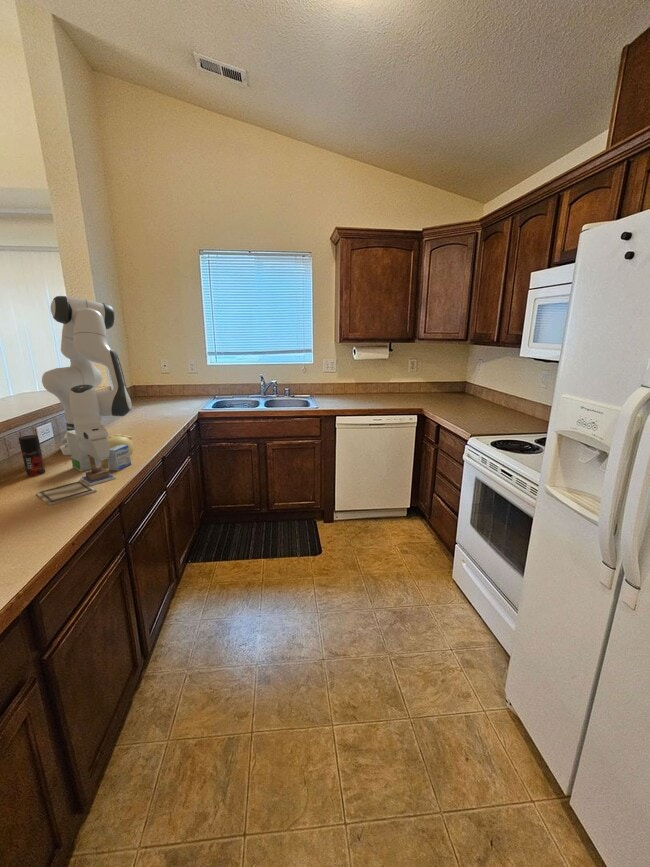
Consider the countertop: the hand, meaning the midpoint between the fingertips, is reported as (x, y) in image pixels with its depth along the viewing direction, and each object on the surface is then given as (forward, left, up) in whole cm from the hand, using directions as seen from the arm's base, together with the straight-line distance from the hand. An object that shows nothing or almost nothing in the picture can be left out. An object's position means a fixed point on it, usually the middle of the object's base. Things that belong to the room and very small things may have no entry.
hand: (95, 465), depth 143 cm
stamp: (0, 0, -4) cm, 4 cm away
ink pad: (0, 0, -5) cm, 5 cm away
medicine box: (-7, +11, -6) cm, 14 cm away
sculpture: (-19, +16, -6) cm, 25 cm away
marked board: (+5, -12, -5) cm, 14 cm away
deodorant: (-26, -13, -6) cm, 30 cm away
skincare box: (-18, +2, -6) cm, 19 cm away
